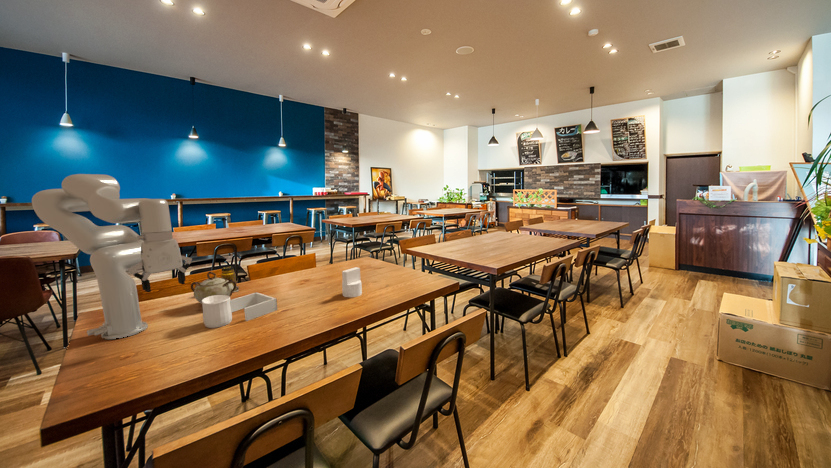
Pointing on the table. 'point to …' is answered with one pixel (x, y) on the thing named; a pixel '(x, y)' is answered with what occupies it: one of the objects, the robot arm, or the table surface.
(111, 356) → the table surface
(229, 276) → the condiment
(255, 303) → the box
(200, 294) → the sugar bowl
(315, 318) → the table surface
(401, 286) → the table surface
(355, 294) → the base with upright slab
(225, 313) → the cup
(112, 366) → the table surface
